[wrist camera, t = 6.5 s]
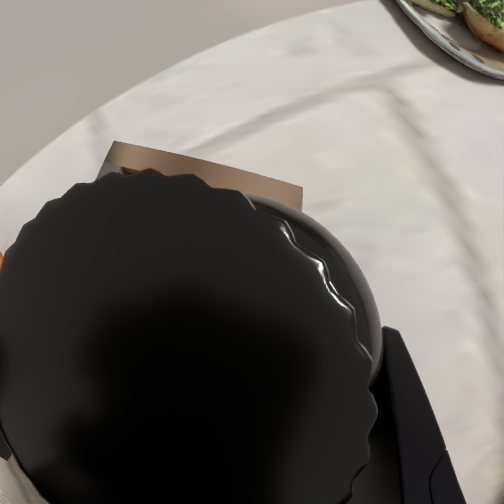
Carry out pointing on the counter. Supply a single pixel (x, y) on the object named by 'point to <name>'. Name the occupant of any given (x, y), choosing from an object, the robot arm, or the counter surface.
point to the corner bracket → (198, 172)
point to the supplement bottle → (185, 348)
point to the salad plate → (475, 21)
